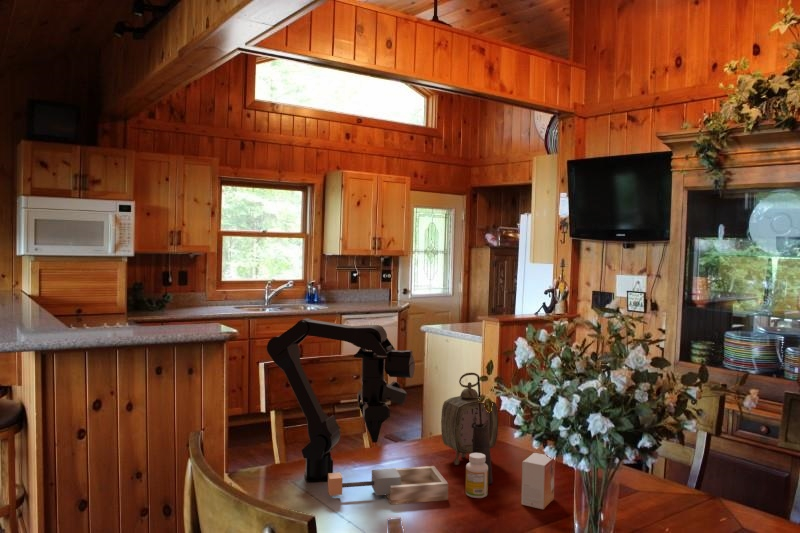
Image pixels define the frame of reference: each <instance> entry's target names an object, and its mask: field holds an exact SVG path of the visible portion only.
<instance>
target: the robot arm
mask: <svg viewBox="0 0 800 533" xmlns="http://www.w3.org/2000/svg"><path fill="white" fill-rule="evenodd" d="M308 336H310V337H317V338H322V339H328V340H334V341H335V340H336V341H341V342H347V343H349V344H352V345H353V346H355V347H358V351H357V352H356V353H355V354H353V358H355V359H357V358H358V359H361V377H360V384H361V389H360V390H358V392H357V393H356V394H357V395H356V396H357V397H356V399H357V404H358V407H359V410H360V413H361V416H362V418H363V420H364V423H365V427H366V429H367V432H368V434H369V436H370V439H371V442H372V443H373V444H375V443H378V440H379V435H380V432H381V428H382V425H383V423H384V422H386V421H388V419H389V418H390V417H391V409H390V407H389V405H388V404H387V402H388V401H391V402H393V403H396V404H397V405H400V406H403V405H404V403H405V401H406V400H405V399H406V398H407V394H408V393H407V391H406V390H405V389H403V388H401V386H400V385H401V384H400V383H399V382H397V381H396V380H393V381H392V382H391V383H387V381H386V380H385V374H386V375H388V376H389V377H390V378H402V379H413V378H414V375H415V370H416V369H415V368H416V367H415V366H416V363H415V357H414V355H413V350H412V349H411V350H410V349H406V350H397V349H396V348H395V347H394V346H393V344H392V342H391V341H390V339H389V338H388V335H387V331H386V329H385V328H384V327H383V326H382V325H379V324H364V325H363V324H362V325H347V324H341V323H334V322H328V321H323V320H315V319H311V318H303V319H301V320H300V319H299V320H298V321H297V322H296V324H294V325H293V326H291V327H290V328H289V329H286V331H284V332H283V333H282V334H280V335H276V336H274V337H271V338H270V339H269V340H268V342H267V345H266V351H267V354H268V356H269V357H270V359H271V360H272V362H274V364H275V365H276V366H278V368H279V369H281V370H282V371H283V372H284V374H285V377H286V379H287V380H288V383H289V385H290V387H291V389H292V391H293V394H294V396H295V397H296V400H297V402H298V404H299V406H300V409H301V411H302V413H303V416H304V417H305V418H306V421H307V422H306V423H307V424H306V425H307V435H308V439H309V443H308V444H306V445H305V446H304V447H303V448H302V449H301V453H302V457H303V459H305V471H304V477H305V482H306V483H315V482H328V473H334V460H333V457H332V454H331V452H330V451H332V450H333V449H334V446H336V445H337V444H338V443H339V441H340V438H341V426H339V424H338V423H337V419H336V417H335V415H334V414H332V415H331V416H328V415H327V413H325V412H324V410H323V408H322V406H321V403H320V401H319V400H318V397H317V395H316V394H315V391H314V389H313V387H312V385H311V382H310V381H309V379H308V376H307V375H306V372H305V370H304V368H303V366H302V364H301V363H302V362H301V352H300V348H299V347H300V346H299V344H301V343H302V342H303V341H304V340H305V339H306V338H307V337H308Z"/></svg>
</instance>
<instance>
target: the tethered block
mask: <svg viewBox="0 0 800 533" xmlns="http://www.w3.org/2000/svg"><path fill="white" fill-rule="evenodd" d="M394 485H401V476H400V475H399V473H398V471H397V470H396V467H395V468H381V469H371V480H370V481H367V480H366V481H355V482H353V481H352V482H343V476H342V474H341V472H333V473H328V481H327V491H328V495H329V496H342V495H343V488H344V489H345V488H355V487H356V488H358V487H368V486H369V487H370V486H371V488H372V489H373V491H374V493H375V496H383V495H384V496H386V495H387V494H390V486H394Z"/></svg>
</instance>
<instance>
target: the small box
mask: <svg viewBox="0 0 800 533" xmlns="http://www.w3.org/2000/svg"><path fill="white" fill-rule="evenodd" d="M546 455H547V454H544V453H543V454H542V453H537V452H533V453H531V455H529V456H528V457H527V458H525V459H524V460H523V461H521V463H522V464H521V466H522V467H521V499H520V500H521V503H520V504H521V505H522V506H527V507H531V508H535V509H539V510H545V508H546V507H547V506H549V504H550V503H551V502H553V501H554V500H555V473H556V472H555V470H556V467H555V466H556V459H555V460H553V459H550V458H549V457H547V456H546Z"/></svg>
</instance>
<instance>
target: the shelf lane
mask: <svg viewBox="0 0 800 533" xmlns="http://www.w3.org/2000/svg"><path fill="white" fill-rule="evenodd" d="M395 468H396V467H395ZM396 470H397V471H398V473H399V475H400V476H401V485H394V486H390V494H387V495H385V496H386V498H387V500H388V502H389V503H390V505H401V504H412V503H413V504H415V503H427V502H439V501H448V500H449V482H448V481H447V480H446V479H445V477H443V475H442V474H441V473H440V471H439V470H438V469H437V467H436V466H435V465H431V466H415V467H401V468H400V467H398V468H396Z"/></svg>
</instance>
